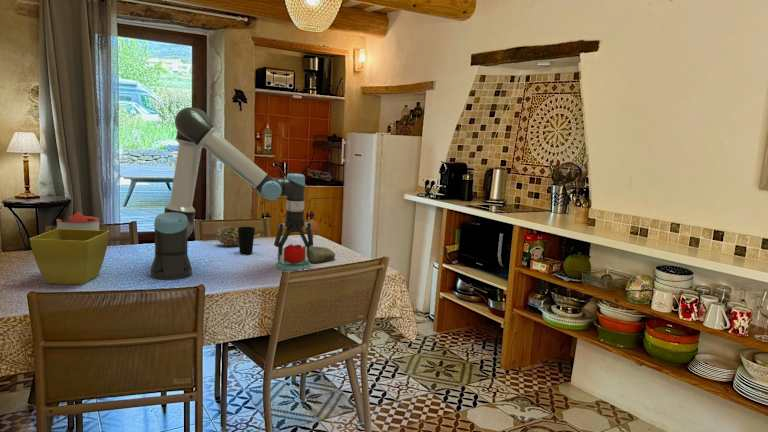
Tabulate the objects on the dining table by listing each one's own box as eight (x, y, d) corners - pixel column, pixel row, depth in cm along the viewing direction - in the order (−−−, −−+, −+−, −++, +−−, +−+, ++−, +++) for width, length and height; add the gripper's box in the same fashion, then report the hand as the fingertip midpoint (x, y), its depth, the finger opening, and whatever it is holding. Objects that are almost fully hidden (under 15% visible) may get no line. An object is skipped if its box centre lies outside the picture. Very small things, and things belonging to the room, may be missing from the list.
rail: (278, 262, 232) (278, 254, 232) (277, 261, 233) (277, 254, 233) (297, 261, 237) (298, 253, 236) (296, 260, 238) (297, 252, 237)
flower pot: (87, 288, 182) (86, 240, 180) (29, 286, 181) (27, 238, 178) (111, 273, 201) (110, 230, 199) (59, 272, 199) (57, 228, 197)
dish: (282, 271, 217) (282, 268, 217) (272, 263, 230) (272, 260, 230) (315, 269, 224) (315, 265, 224) (303, 261, 237) (303, 258, 237)
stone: (298, 258, 237) (306, 238, 239) (319, 269, 246) (327, 249, 249) (311, 260, 231) (319, 239, 233) (332, 272, 240) (339, 251, 243)
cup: (249, 256, 241) (250, 230, 240) (234, 254, 243) (234, 228, 241) (257, 252, 249) (257, 227, 247) (242, 251, 250) (242, 226, 249)
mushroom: (322, 248, 265) (323, 219, 263) (312, 251, 258) (313, 221, 256) (310, 246, 269) (311, 217, 267) (299, 248, 262) (300, 218, 260)
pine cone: (218, 248, 252) (218, 228, 251) (213, 244, 260) (213, 225, 259) (263, 246, 263) (263, 226, 262) (257, 242, 271) (258, 223, 270)
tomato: (302, 259, 232) (302, 243, 231) (305, 264, 224) (306, 247, 223) (280, 260, 229) (281, 243, 228) (283, 265, 221) (284, 247, 220)
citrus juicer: (74, 253, 229) (72, 207, 226) (109, 257, 226) (108, 210, 223) (44, 260, 214) (42, 212, 211) (81, 265, 211) (80, 215, 208)
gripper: (272, 212, 215) (270, 265, 218) (322, 211, 226) (320, 262, 229) (266, 209, 221) (265, 261, 225) (316, 208, 232) (314, 258, 235)
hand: (293, 261), depth 227 cm, fingers closed on tomato, 9 cm apart
